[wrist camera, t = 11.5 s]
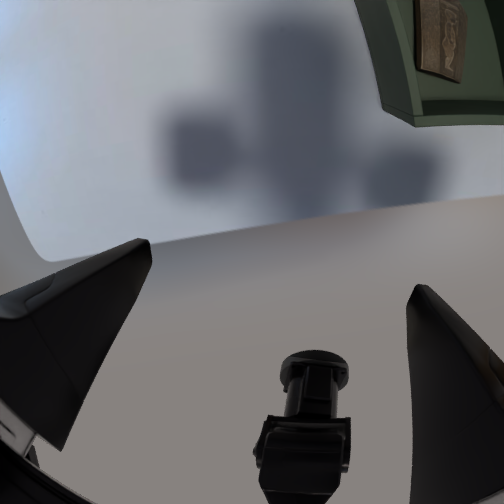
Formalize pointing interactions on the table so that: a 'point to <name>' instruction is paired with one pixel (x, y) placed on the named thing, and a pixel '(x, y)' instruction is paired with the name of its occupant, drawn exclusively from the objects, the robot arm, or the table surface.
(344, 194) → the table surface
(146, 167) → the table surface
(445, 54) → the block
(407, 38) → the bin
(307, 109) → the table surface
